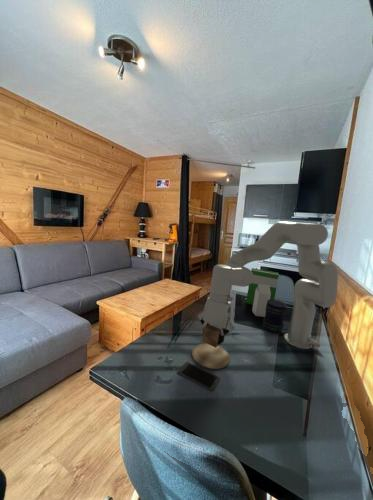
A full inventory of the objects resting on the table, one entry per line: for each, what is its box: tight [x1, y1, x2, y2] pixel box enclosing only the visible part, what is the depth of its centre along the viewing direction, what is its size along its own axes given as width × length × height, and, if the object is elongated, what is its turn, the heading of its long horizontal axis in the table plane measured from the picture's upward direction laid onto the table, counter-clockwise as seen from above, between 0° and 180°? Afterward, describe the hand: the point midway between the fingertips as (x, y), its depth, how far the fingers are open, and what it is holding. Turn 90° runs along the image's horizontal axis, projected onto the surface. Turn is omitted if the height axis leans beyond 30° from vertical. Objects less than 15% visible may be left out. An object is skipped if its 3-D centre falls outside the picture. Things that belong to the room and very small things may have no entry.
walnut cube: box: [202, 324, 220, 348], centre depth 86 cm, size 6×6×6 cm
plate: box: [191, 343, 231, 370], centre depth 87 cm, size 15×15×1 cm
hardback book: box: [245, 267, 280, 306], centre depth 152 cm, size 18×7×24 cm, turn 70°
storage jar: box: [262, 299, 288, 335], centre depth 116 cm, size 10×10×15 cm
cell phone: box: [176, 361, 221, 392], centre depth 76 cm, size 7×14×1 cm, turn 60°
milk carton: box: [251, 284, 271, 318], centre depth 134 cm, size 7×7×19 cm
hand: (212, 339), depth 86 cm, fingers closed on walnut cube, 6 cm apart
